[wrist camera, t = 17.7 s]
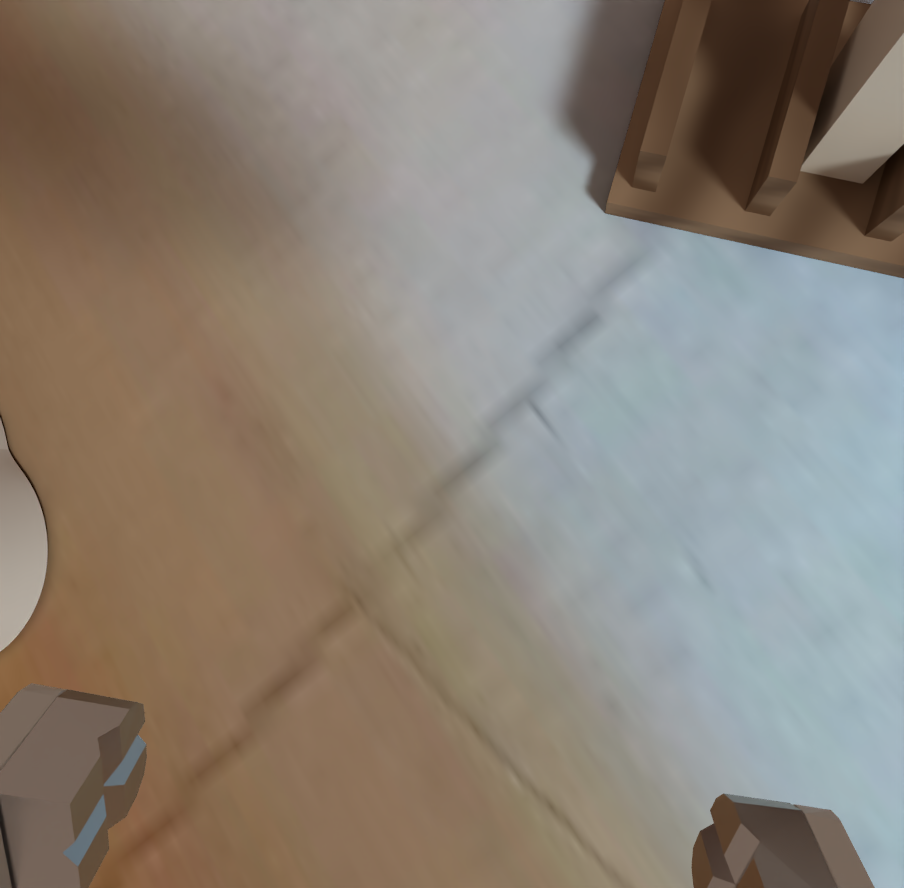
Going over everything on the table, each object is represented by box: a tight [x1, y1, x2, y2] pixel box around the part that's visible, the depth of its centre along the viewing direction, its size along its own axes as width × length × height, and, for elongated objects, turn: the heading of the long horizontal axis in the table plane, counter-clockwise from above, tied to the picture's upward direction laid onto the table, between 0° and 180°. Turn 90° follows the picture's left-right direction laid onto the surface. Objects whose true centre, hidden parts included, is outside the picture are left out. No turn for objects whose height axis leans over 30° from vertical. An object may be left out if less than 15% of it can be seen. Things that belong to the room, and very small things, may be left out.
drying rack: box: [605, 0, 904, 278], centre depth 32 cm, size 20×12×6 cm, turn 74°
